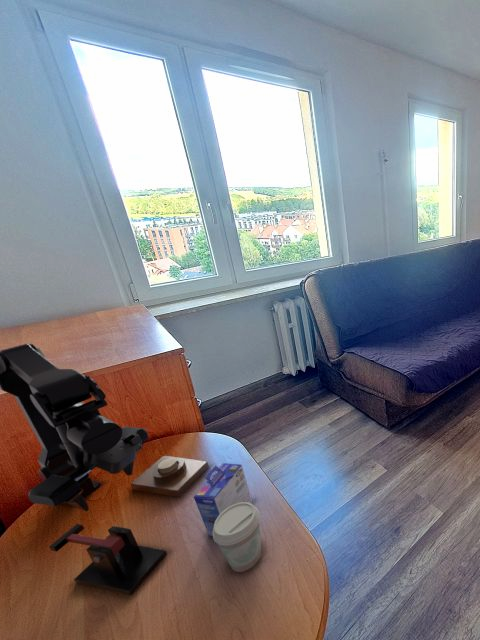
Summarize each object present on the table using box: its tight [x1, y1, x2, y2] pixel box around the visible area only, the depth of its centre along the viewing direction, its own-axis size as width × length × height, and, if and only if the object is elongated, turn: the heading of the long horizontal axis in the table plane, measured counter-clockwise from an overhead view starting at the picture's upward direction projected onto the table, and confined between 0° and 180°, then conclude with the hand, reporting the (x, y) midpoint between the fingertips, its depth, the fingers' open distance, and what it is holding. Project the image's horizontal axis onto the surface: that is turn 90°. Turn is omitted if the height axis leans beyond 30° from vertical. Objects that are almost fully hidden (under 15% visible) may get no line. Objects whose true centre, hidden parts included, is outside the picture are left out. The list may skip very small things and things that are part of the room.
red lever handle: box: [49, 523, 125, 555], centre depth 67 cm, size 13×5×2 cm, turn 81°
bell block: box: [130, 455, 210, 498], centre depth 90 cm, size 14×10×4 cm
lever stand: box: [73, 525, 168, 596], centre depth 68 cm, size 13×8×9 cm, turn 81°
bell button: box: [158, 458, 178, 474], centre depth 89 cm, size 4×4×2 cm
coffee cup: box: [212, 502, 262, 573], centre depth 69 cm, size 8×8×12 cm
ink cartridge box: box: [193, 462, 253, 537], centre depth 77 cm, size 10×6×14 cm, turn 174°
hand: (109, 491), depth 72 cm, fingers open, 9 cm apart
